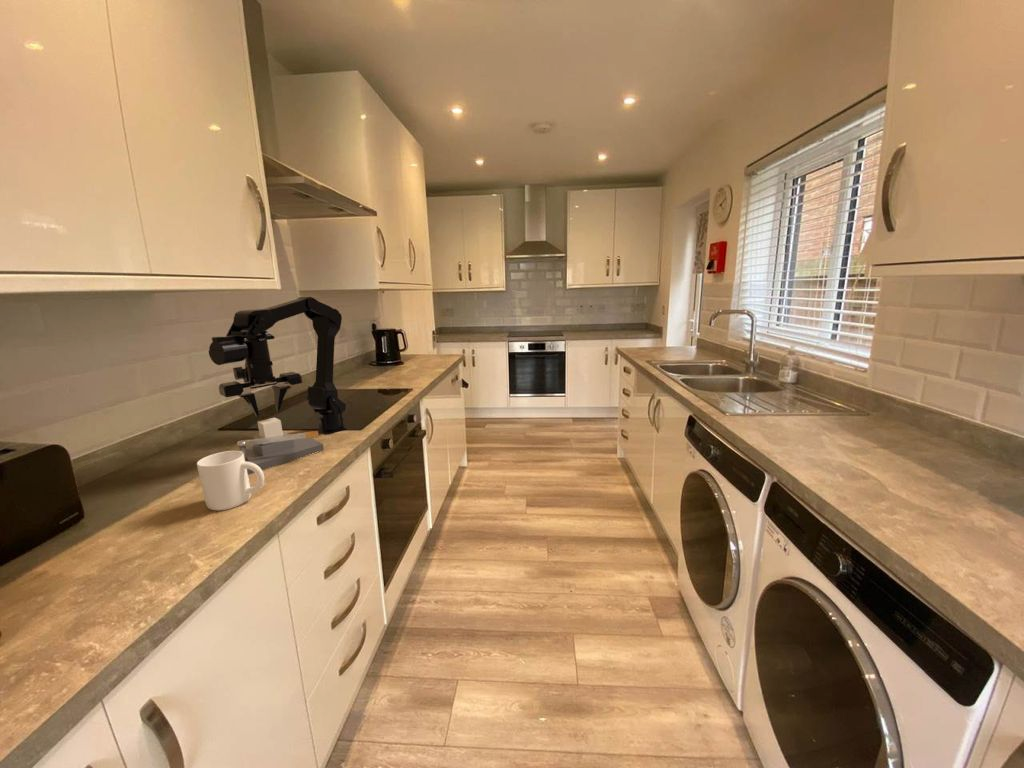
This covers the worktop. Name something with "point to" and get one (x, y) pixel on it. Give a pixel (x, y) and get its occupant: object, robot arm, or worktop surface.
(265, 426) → the plug
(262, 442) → the latch bar
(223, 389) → the robot arm
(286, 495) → the worktop surface
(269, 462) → the socket block
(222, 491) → the mug
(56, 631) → the worktop surface
